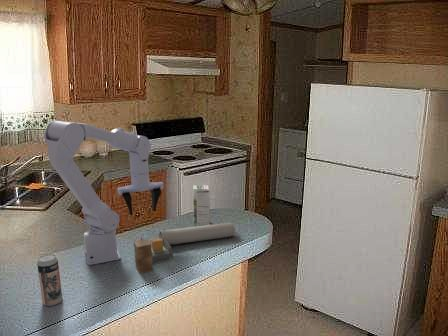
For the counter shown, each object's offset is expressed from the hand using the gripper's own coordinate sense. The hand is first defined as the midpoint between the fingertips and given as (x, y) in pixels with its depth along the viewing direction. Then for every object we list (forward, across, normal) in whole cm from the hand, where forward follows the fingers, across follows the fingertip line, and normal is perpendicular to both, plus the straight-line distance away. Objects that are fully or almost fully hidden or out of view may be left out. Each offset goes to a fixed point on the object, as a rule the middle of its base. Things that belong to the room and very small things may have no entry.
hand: (142, 212), depth 139 cm
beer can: (+10, -30, -27) cm, 41 cm away
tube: (+10, +16, -8) cm, 21 cm away
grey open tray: (+10, +1, -10) cm, 14 cm away
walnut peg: (+10, -5, -20) cm, 22 cm away
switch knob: (+8, +1, -12) cm, 15 cm away
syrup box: (+10, +22, +4) cm, 25 cm away
